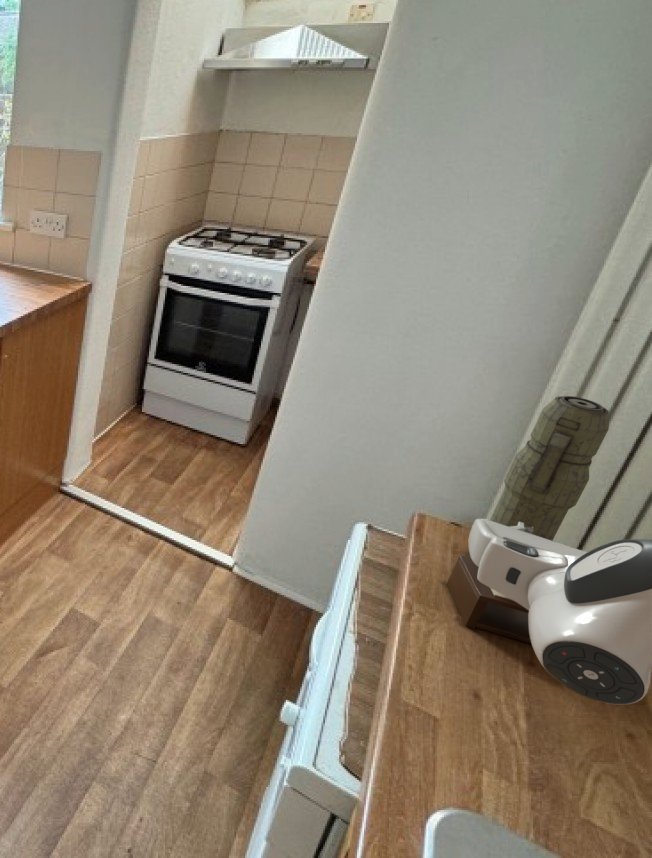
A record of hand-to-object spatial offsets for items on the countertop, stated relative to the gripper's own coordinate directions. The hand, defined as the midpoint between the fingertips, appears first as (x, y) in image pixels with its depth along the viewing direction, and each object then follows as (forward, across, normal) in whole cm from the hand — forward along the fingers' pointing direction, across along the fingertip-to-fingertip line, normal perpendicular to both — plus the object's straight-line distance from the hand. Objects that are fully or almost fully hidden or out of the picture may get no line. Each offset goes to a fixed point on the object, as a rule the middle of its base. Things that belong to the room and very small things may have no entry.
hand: (572, 543), depth 82 cm
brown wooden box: (+13, +2, +23) cm, 26 cm away
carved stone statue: (+27, +2, +23) cm, 36 cm away
